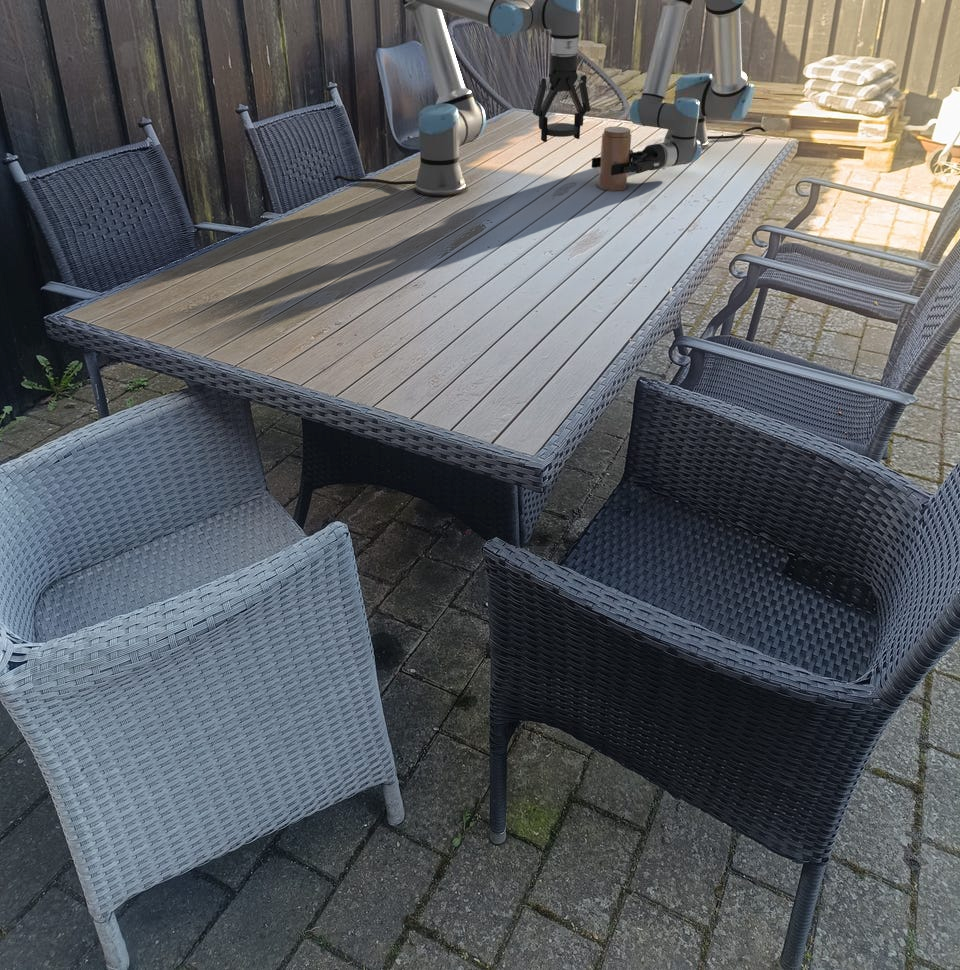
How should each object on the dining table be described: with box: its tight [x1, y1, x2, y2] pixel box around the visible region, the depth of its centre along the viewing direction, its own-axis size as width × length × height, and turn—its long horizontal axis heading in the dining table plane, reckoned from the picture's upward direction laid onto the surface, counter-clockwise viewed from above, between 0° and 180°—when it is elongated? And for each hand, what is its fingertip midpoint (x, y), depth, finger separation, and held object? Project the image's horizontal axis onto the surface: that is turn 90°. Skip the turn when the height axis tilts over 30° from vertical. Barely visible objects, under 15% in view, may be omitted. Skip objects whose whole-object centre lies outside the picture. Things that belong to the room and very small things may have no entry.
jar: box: [597, 126, 632, 192], centre depth 256 cm, size 9×9×17 cm
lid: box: [547, 122, 578, 138], centre depth 245 cm, size 10×10×2 cm
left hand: (560, 139), depth 246 cm, fingers closed on lid, 10 cm apart
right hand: (602, 166), depth 255 cm, fingers closed on jar, 9 cm apart
